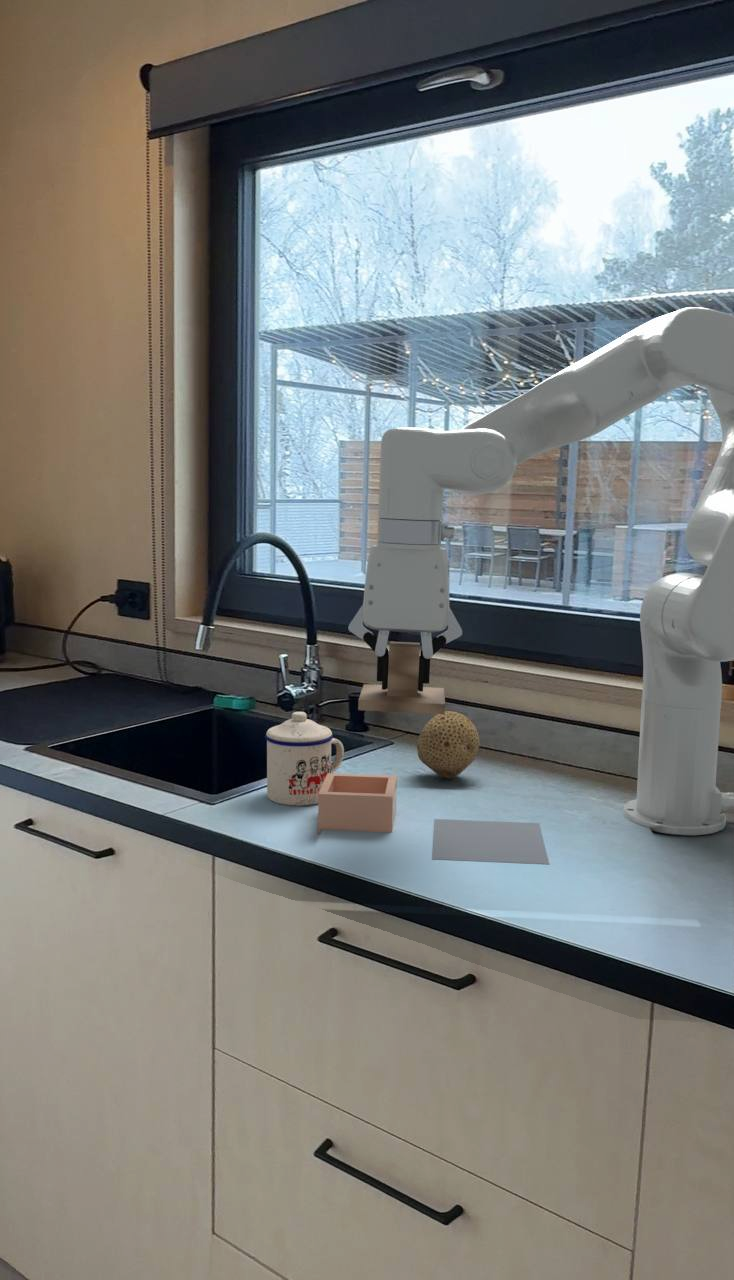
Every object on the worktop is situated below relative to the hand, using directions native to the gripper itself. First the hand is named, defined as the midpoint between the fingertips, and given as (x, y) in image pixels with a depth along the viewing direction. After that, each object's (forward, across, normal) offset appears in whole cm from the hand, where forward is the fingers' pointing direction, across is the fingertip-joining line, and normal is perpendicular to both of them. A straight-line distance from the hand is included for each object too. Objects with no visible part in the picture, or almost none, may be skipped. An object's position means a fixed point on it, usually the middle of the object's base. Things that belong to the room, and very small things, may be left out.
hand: (402, 687), depth 123 cm
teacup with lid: (+19, +12, -14) cm, 26 cm away
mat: (+18, -11, +4) cm, 21 cm away
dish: (+18, +5, -3) cm, 19 cm away
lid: (+2, 0, 0) cm, 2 cm away
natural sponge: (+18, -7, -23) cm, 30 cm away
